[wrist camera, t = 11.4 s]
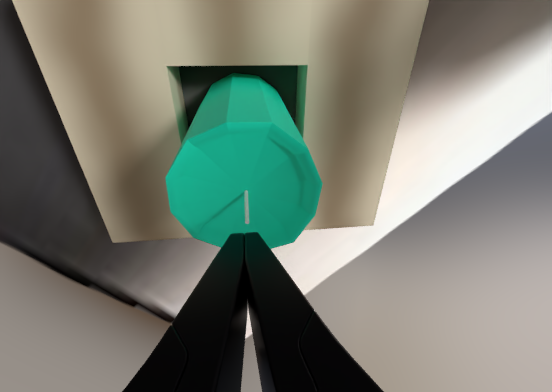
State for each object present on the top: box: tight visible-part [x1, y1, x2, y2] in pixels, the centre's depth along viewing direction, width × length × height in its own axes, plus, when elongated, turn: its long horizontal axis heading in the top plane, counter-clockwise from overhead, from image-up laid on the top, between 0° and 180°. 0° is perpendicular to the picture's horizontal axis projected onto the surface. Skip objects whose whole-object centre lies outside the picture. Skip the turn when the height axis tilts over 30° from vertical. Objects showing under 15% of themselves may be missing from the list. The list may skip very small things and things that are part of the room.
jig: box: [12, 0, 429, 243], centre depth 18 cm, size 20×16×3 cm
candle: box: [165, 73, 323, 249], centre depth 14 cm, size 6×6×12 cm
